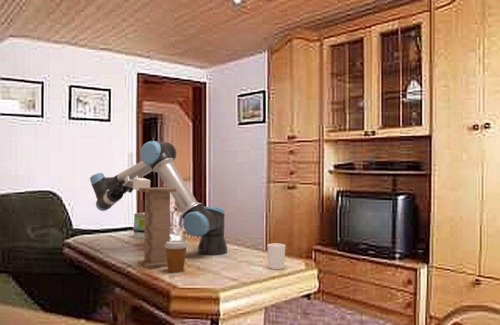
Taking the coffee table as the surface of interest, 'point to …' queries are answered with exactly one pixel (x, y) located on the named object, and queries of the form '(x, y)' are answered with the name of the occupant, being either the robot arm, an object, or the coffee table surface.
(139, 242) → the coffee table surface
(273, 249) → the white cup
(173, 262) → the disposable coffee cup
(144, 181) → the block
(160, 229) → the walnut stand
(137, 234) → the tea box
